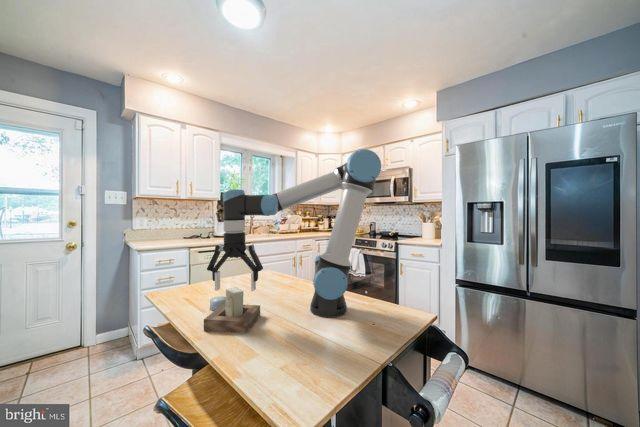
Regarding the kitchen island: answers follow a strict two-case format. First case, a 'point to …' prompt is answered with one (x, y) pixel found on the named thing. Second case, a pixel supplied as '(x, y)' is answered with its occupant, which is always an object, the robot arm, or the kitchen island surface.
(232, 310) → the skincare box
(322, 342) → the kitchen island surface
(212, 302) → the light blue rounded block
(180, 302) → the kitchen island surface
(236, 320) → the socket block
